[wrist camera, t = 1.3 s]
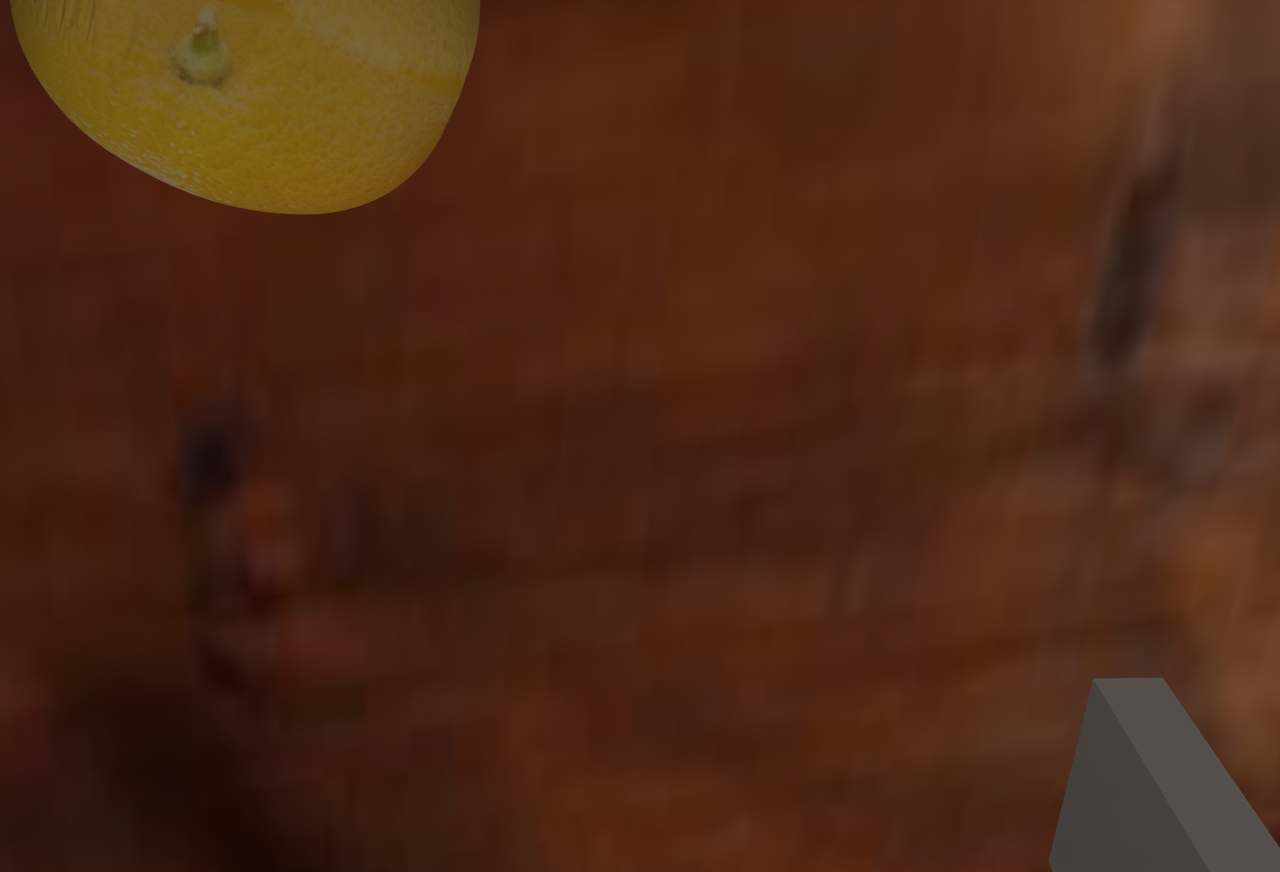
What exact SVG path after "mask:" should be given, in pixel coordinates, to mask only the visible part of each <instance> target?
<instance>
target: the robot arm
mask: <svg viewBox="0 0 1280 872" xmlns="http://www.w3.org/2000/svg"><path fill="white" fill-rule="evenodd" d="M1049 864H1050V866H1051V869H1052V871H1053V872H1280V848H1279V846H1278V845H1277V844H1276V842H1275V841H1274V839H1273V838H1272V836H1271V835H1270V833H1269V832H1268V830H1267V829H1266V828H1265V826H1264V825H1263V823H1262V822H1261V820H1260V819H1259V817H1258V816H1257V814H1256V813H1255V812H1254V810H1253V809H1252V807H1251V806H1250V804H1249V803H1248V801H1247V800H1246V799H1245V797H1244V796H1243V794H1242V793H1241V791H1240V790H1239V788H1238V787H1237V785H1236V784H1235V783H1234V781H1233V780H1232V778H1231V777H1230V775H1229V774H1228V772H1227V771H1226V769H1225V768H1224V767H1223V765H1222V764H1221V762H1220V761H1219V759H1218V758H1217V756H1216V755H1215V753H1214V752H1213V751H1212V749H1211V748H1210V746H1209V745H1208V743H1207V742H1206V740H1205V739H1204V737H1203V736H1202V735H1201V733H1200V732H1199V730H1198V729H1197V727H1196V726H1195V724H1194V723H1193V721H1192V720H1191V719H1190V717H1189V716H1188V714H1187V713H1186V711H1185V710H1184V708H1183V707H1182V705H1181V704H1180V703H1179V701H1178V700H1177V698H1176V697H1175V695H1174V694H1173V692H1172V691H1171V689H1170V688H1169V687H1168V685H1167V684H1166V682H1165V681H1164V679H1163V678H1112V679H1093V682H1092V686H1091V690H1090V695H1089V699H1088V703H1087V707H1086V711H1085V715H1084V719H1083V723H1082V727H1081V731H1080V735H1079V739H1078V743H1077V748H1076V752H1075V756H1074V760H1073V764H1072V768H1071V772H1070V776H1069V780H1068V784H1067V788H1066V792H1065V797H1064V801H1063V805H1062V809H1061V813H1060V817H1059V821H1058V825H1057V829H1056V833H1055V837H1054V841H1053V845H1052V850H1051V854H1050V858H1049Z"/></svg>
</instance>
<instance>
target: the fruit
mask: <svg viewBox="0 0 1280 872" xmlns="http://www.w3.org/2000/svg"><path fill="white" fill-rule="evenodd" d="M10 5H11V11H12V16H13V21H14V25H15V29H16V33H17V36H18V39H19V42H20V45H21V47H22V50H23V52H24V54H25V56H26V58H27V60H28V62H29V64H30V66H31V68H32V70H33V72H34V73H35V75H36V77H37V78H38V80H39V81H40V83H41V85H42V86H43V87H44V89H45V90H46V92H47V93H48V94H49V96H50V97H51V98H52V100H53V101H54V102H55V103H56V104H57V106H58V107H59V108H60V109H61V110H62V111H63V112H64V113H65V115H66V116H67V117H68V118H69V119H70V120H71V121H72V122H73V123H75V124H76V125H77V126H78V127H79V128H80V129H81V130H82V131H83V132H84V133H86V134H87V135H88V136H89V137H90V138H92V139H93V140H94V141H96V142H97V143H98V144H100V145H101V146H102V147H104V148H105V149H106V150H108V151H110V152H111V153H113V154H114V155H116V156H117V157H119V158H121V159H122V160H124V161H125V162H127V163H129V164H131V165H132V166H134V167H136V168H138V169H140V170H142V171H143V172H145V173H147V174H149V175H151V176H153V177H155V178H157V179H159V180H161V181H163V182H165V183H167V184H170V185H172V186H174V187H176V188H179V189H181V190H183V191H186V192H188V193H191V194H193V195H196V196H199V197H202V198H205V199H208V200H212V201H215V202H218V203H222V204H226V205H230V206H234V207H239V208H244V209H249V210H256V211H263V212H272V213H283V214H323V213H331V212H337V211H342V210H346V209H350V208H354V207H357V206H361V205H363V204H366V203H369V202H371V201H373V200H376V199H378V198H380V197H381V196H383V195H385V194H387V193H389V192H390V191H392V190H394V189H395V188H396V187H398V186H399V185H401V184H402V183H403V182H404V181H405V180H407V179H408V178H409V177H410V176H411V175H412V174H413V173H414V172H415V171H416V170H417V169H418V168H419V167H420V166H421V165H422V164H423V162H424V161H425V160H426V159H427V157H428V156H429V155H430V153H431V152H432V151H433V149H434V147H435V146H436V144H437V143H438V141H439V140H440V137H441V135H442V133H443V131H444V129H445V127H446V125H447V123H448V120H449V118H450V116H451V114H452V112H453V110H454V107H455V105H456V103H457V101H458V99H459V96H460V93H461V90H462V87H463V84H464V81H465V78H466V76H467V73H468V70H469V67H470V64H471V61H472V57H473V54H474V50H475V45H476V41H477V35H478V28H479V19H480V0H10Z"/></svg>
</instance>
